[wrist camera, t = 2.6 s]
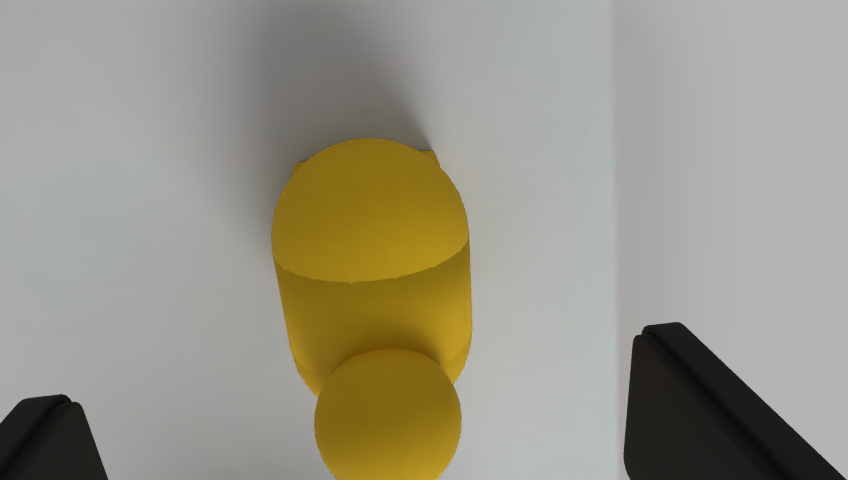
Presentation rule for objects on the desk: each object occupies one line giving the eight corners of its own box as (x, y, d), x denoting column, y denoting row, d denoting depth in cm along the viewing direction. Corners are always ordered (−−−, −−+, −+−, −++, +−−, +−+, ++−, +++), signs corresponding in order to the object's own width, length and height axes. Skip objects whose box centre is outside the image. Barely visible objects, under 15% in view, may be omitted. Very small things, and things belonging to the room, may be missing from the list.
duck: (273, 124, 14) (206, 221, 8) (447, 110, 15) (510, 192, 8) (315, 376, 17) (291, 584, 11) (458, 360, 18) (511, 554, 11)
